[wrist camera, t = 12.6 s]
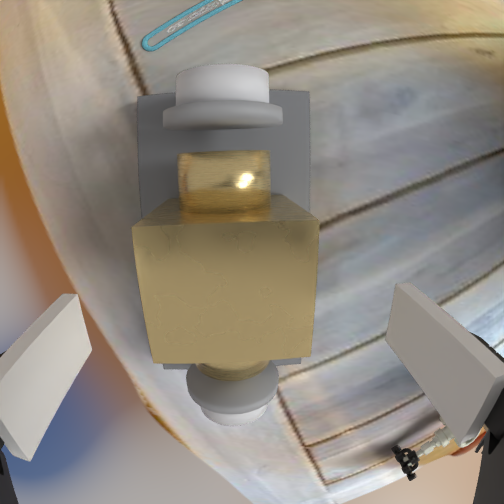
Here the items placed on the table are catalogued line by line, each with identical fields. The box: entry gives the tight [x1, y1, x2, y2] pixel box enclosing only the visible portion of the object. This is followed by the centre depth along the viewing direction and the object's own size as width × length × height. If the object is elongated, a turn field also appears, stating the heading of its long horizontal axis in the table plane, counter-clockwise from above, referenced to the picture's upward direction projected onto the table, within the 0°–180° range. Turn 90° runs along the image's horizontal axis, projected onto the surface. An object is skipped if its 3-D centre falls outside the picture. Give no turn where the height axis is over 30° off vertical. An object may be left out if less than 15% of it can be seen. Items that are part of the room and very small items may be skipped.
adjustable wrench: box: [142, 0, 242, 51], centre depth 18 cm, size 14×1×5 cm
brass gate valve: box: [131, 150, 319, 381], centre depth 18 cm, size 8×13×9 cm, turn 1°
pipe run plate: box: [137, 64, 310, 426], centre depth 20 cm, size 12×22×9 cm, turn 1°
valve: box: [392, 416, 480, 481], centre depth 31 cm, size 7×7×12 cm
